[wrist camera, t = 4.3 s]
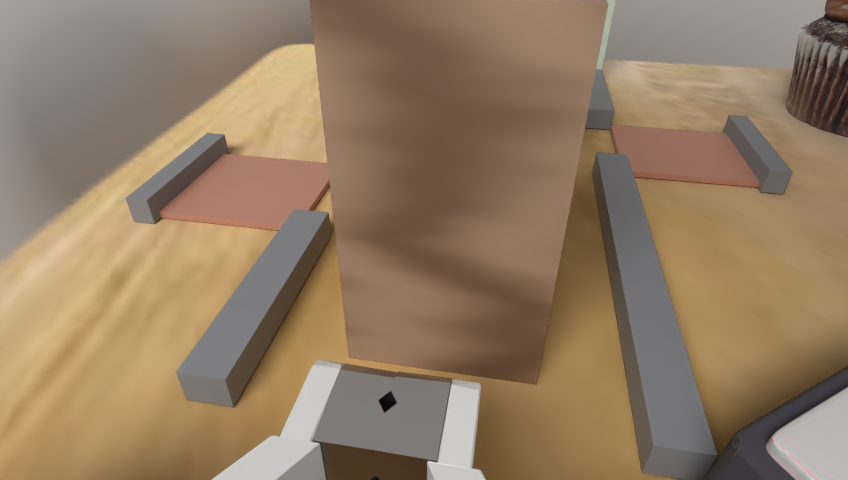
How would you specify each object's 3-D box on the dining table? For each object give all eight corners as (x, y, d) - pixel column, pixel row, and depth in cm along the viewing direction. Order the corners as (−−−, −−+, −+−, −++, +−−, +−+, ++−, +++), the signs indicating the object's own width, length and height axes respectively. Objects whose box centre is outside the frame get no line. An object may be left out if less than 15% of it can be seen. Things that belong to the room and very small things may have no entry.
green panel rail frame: (701, 83, 39) (728, -5, 36) (1035, 536, 13) (1264, 363, 9) (318, 60, 44) (310, -20, 40) (-31, 364, 17) (-146, 202, 14)
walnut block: (538, 175, 28) (573, -68, 21) (536, 385, 16) (608, 4, 10) (425, 165, 29) (426, -72, 22) (348, 359, 17) (308, -9, 11)
